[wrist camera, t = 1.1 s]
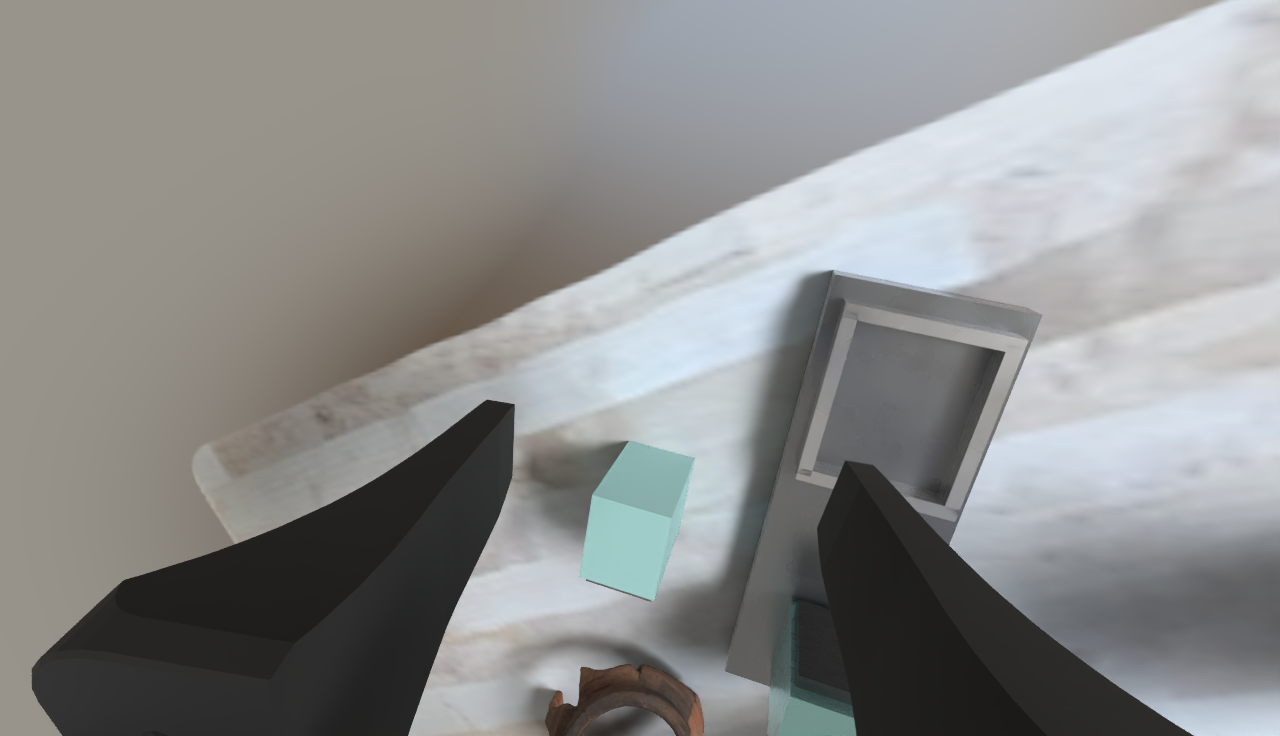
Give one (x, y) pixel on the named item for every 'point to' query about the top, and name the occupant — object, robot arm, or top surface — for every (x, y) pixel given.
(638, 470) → the pale aqua cube
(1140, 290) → the top surface
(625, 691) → the brown looped piece
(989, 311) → the grey long flat piece
